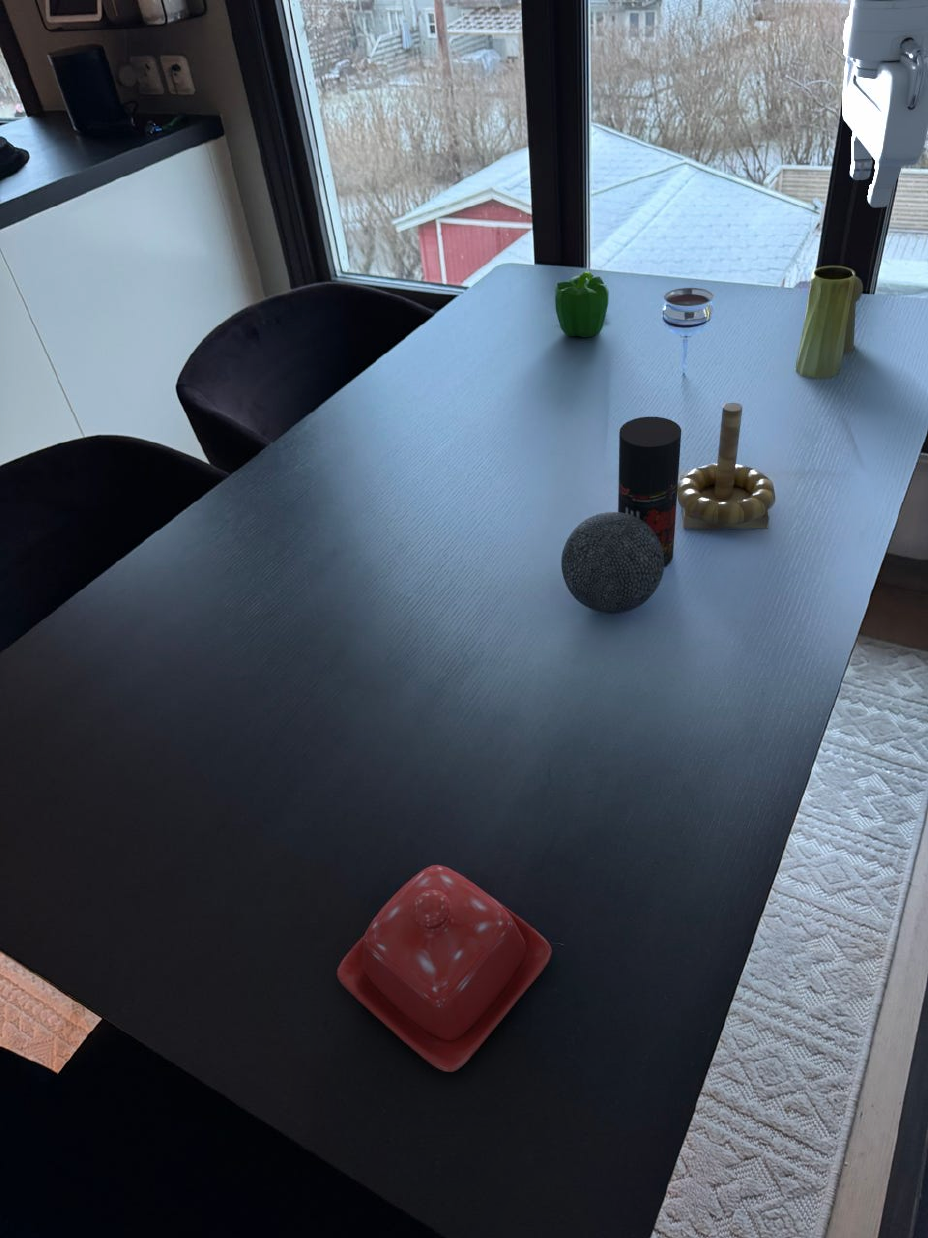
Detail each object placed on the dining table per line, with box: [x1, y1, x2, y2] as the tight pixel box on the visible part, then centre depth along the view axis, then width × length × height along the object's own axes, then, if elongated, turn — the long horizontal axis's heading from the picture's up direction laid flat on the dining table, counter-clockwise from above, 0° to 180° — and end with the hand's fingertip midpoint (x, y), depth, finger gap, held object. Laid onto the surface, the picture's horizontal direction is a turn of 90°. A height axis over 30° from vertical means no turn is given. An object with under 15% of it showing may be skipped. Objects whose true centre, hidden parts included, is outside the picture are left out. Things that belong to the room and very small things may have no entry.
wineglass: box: [661, 286, 715, 375], centre depth 121 cm, size 7×7×12 cm
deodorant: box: [617, 416, 682, 568], centre depth 91 cm, size 6×6×15 cm
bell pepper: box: [554, 270, 610, 338], centre depth 138 cm, size 8×8×10 cm
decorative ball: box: [560, 511, 665, 614], centre depth 87 cm, size 10×10×10 cm
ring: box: [677, 462, 776, 525], centre depth 98 cm, size 10×10×2 cm
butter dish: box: [336, 864, 553, 1073], centre depth 59 cm, size 12×12×8 cm
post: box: [680, 402, 770, 530], centre depth 97 cm, size 9×9×12 cm
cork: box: [843, 275, 864, 355], centre depth 123 cm, size 6×6×11 cm
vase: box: [794, 265, 856, 379], centre depth 118 cm, size 6×6×14 cm
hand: (868, 191), depth 90 cm, fingers open, 8 cm apart
